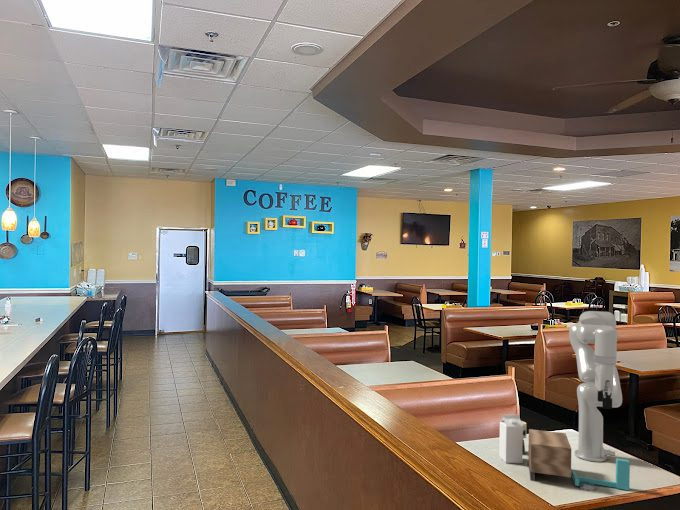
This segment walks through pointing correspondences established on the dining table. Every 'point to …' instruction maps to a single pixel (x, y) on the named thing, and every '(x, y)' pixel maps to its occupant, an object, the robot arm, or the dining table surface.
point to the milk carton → (511, 439)
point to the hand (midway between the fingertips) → (604, 404)
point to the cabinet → (549, 453)
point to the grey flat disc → (587, 486)
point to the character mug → (524, 434)
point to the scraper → (620, 483)
